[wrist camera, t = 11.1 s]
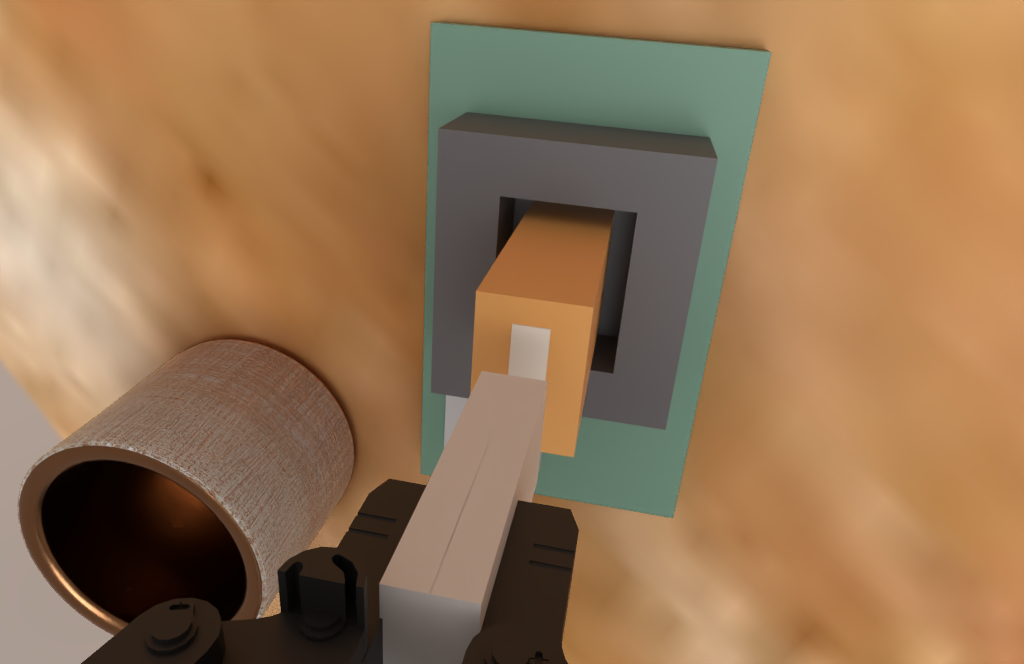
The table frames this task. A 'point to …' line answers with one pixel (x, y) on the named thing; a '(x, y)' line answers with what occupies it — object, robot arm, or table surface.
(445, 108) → the board
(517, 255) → the plug
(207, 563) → the planter
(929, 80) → the table surface
